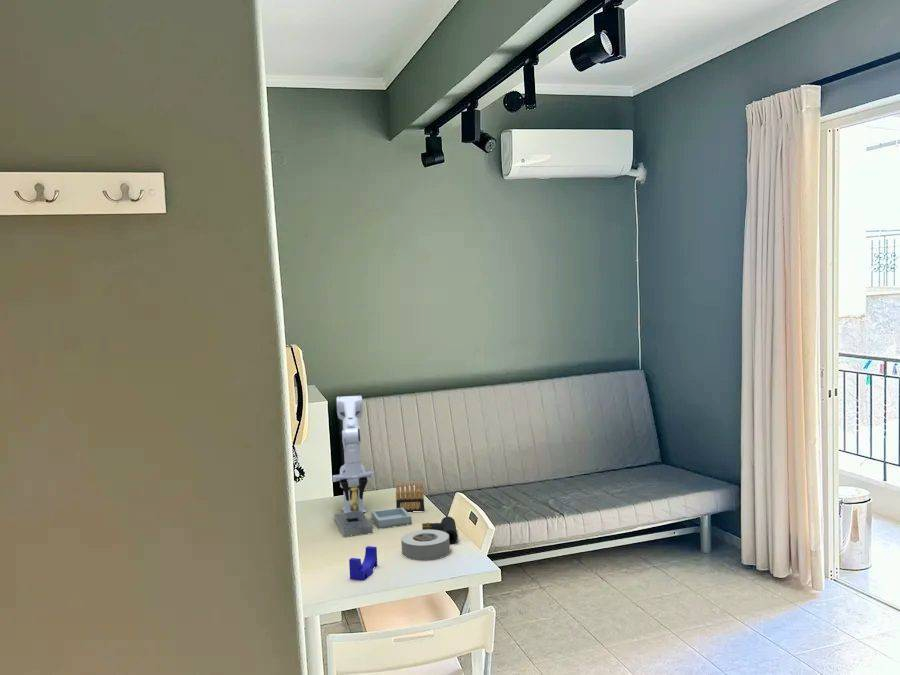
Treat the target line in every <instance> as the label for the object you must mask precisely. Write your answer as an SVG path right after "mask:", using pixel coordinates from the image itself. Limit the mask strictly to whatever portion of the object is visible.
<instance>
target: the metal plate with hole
mask: <svg viewBox="0 0 900 675" xmlns="http://www.w3.org/2000/svg"><path fill="white" fill-rule="evenodd" d="M333 517H334V519H333V520H334V523H335V525H336V526H337V525H338V526H337V527H339V528H338V529H339V531H340V530H341V531H340V533H341V532H342V533H341V534H343V535H342V536H343V537H344V536H349V537H352V536H351V535H357V536H361V535H360V534H364V535H369V534H368V533H372V534H373V533H374V532H373V525H372V524H371V522H370V521H369V519H368V518H367V516H366V515H365V514H364V513H362V511H356V512H347V513H344V512H342V513H341V512H340V513H334V514H333Z"/></svg>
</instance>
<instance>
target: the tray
mask: <svg viewBox="0 0 900 675" xmlns="http://www.w3.org/2000/svg"><path fill="white" fill-rule="evenodd" d="M370 512H371V514H370V516H371V517H370V518H371V520H373V521H374V522H373V521H372V522H373V523H374V525H375V524H376V525H377V526H376V525H375V526H376V528H377V529H378V528H382V529H387V528H386V527H389V528H394V527H393V526H397V527H401V526H400V525H404V526H408V525H407V524H412V516H411V513H408V512H407V511H406V510H405V509H404V508H387V509H380V510H373V511H370Z"/></svg>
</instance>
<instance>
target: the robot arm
mask: <svg viewBox="0 0 900 675" xmlns="http://www.w3.org/2000/svg"><path fill="white" fill-rule="evenodd" d="M335 400H336V414H337V418H338V419H339V420H341V421H342V430H341V435H342V436H341V437H342V438H341V439H342V440H341V441H342V444H343V455H344V456H343V457H344V464H343V465H341V466H340V468H339V474H334V475H332V481H333V483H335V482H339V488H341V489H342V490H343V506H342V507H341V510H342V511H343V513H347V512H356V511H350V490H348V486H350V485H359V486H360V489H358V501H359V510H358V511H362V513H363V512H365V513H367V510H366V508H365V507H364V493H365V488H366V486H367V484H368V480H369V478H371V479H373V478H374V477H375V472H374V471H372V470H371V471H370V470H369V471H366V467H365V466H364V465H363V464H362V460H361V458H362V456H361V442H362V432H361V428H360V422H359V419H361V418H362V415H363V396H362V395H347V396H338V395H337V397H336V399H335ZM363 514H364V513H363Z"/></svg>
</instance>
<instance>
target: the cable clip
mask: <svg viewBox="0 0 900 675" xmlns="http://www.w3.org/2000/svg"><path fill="white" fill-rule="evenodd" d="M377 547H378V546H373V545H372V546H371V545H367V546H366V547H365V551H364V553H365V554H364V559H363V562H362V559H361V558H356V557H351V558H349V559H348V562H349V563H348V565H349V579H350V580H356V581H363V582H364V581H365V580H366V579H368V578H369V577H370V576H371V575H373V574H374V569H375V568H376V567H377V566H378V550H377V549H378V548H377ZM375 566H376V567H375ZM374 567H375V568H374ZM373 568H374V569H373ZM372 573H373V574H372Z"/></svg>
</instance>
